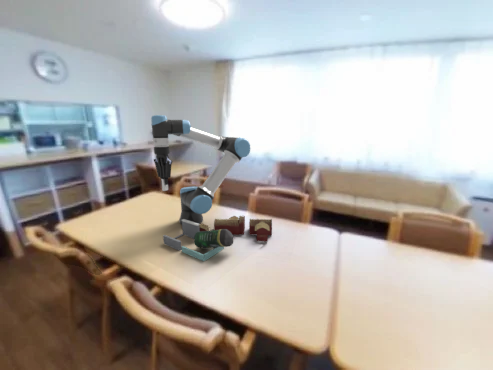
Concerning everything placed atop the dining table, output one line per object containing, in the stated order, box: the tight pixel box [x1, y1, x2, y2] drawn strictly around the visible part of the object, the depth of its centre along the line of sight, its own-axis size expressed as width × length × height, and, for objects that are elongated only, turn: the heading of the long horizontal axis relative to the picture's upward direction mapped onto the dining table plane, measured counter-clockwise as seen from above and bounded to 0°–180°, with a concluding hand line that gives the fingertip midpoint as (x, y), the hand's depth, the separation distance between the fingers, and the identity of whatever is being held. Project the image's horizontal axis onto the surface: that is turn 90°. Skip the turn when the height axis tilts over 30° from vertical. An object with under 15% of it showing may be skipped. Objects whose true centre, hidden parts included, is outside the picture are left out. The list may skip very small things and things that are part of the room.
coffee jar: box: [193, 229, 234, 250], centre depth 119 cm, size 10×8×19 cm
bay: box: [162, 219, 200, 252], centre depth 129 cm, size 14×13×10 cm
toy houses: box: [199, 215, 273, 242], centre depth 140 cm, size 45×20×10 cm, turn 87°
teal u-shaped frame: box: [181, 245, 225, 262], centre depth 121 cm, size 15×16×3 cm
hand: (165, 190), depth 128 cm, fingers closed
